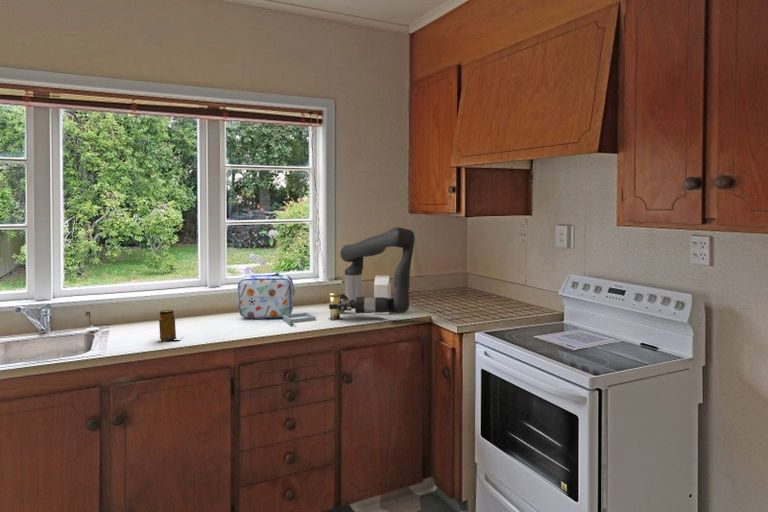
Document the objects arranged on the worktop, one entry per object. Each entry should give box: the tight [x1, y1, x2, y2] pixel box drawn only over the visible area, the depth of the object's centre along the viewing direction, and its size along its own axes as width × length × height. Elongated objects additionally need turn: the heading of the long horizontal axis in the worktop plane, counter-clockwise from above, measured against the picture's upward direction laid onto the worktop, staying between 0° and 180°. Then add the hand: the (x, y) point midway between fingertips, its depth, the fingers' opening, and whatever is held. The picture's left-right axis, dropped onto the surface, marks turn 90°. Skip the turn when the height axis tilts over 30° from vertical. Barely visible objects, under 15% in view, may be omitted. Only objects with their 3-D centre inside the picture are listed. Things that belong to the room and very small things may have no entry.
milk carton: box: [373, 275, 392, 316], centre depth 261 cm, size 7×7×19 cm
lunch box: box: [237, 272, 297, 320], centre depth 255 cm, size 28×10×22 cm, turn 94°
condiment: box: [157, 309, 177, 343], centre depth 214 cm, size 7×8×12 cm
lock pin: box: [328, 291, 341, 321], centre depth 243 cm, size 5×5×12 cm
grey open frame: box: [282, 312, 316, 327], centre depth 244 cm, size 12×12×3 cm
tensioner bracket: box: [327, 292, 348, 322], centre depth 248 cm, size 18×14×11 cm
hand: (330, 305), depth 243 cm, fingers open, 7 cm apart
